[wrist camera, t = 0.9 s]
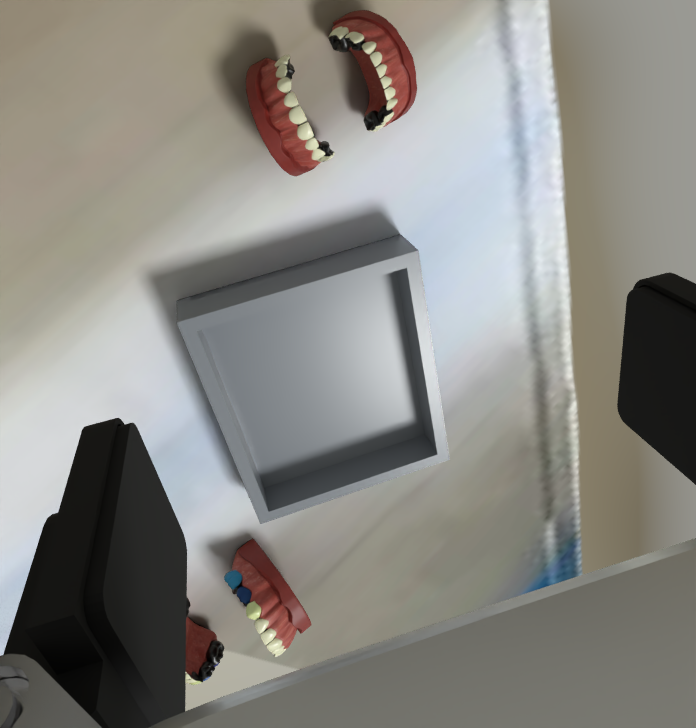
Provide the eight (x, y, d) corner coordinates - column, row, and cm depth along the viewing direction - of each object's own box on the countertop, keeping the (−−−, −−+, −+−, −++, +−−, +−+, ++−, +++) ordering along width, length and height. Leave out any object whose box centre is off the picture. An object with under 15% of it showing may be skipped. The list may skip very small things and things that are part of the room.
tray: (176, 300, 33) (176, 322, 30) (400, 234, 34) (418, 250, 32) (255, 494, 41) (260, 524, 39) (433, 434, 43) (449, 459, 40)
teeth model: (119, 670, 38) (291, 596, 38) (124, 590, 43) (275, 526, 44) (175, 725, 42) (328, 658, 43) (174, 647, 48) (310, 588, 48)
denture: (439, 115, 28) (292, 196, 28) (411, 109, 31) (282, 180, 32) (395, -11, 25) (232, 80, 25) (370, -2, 29) (228, 77, 29)
